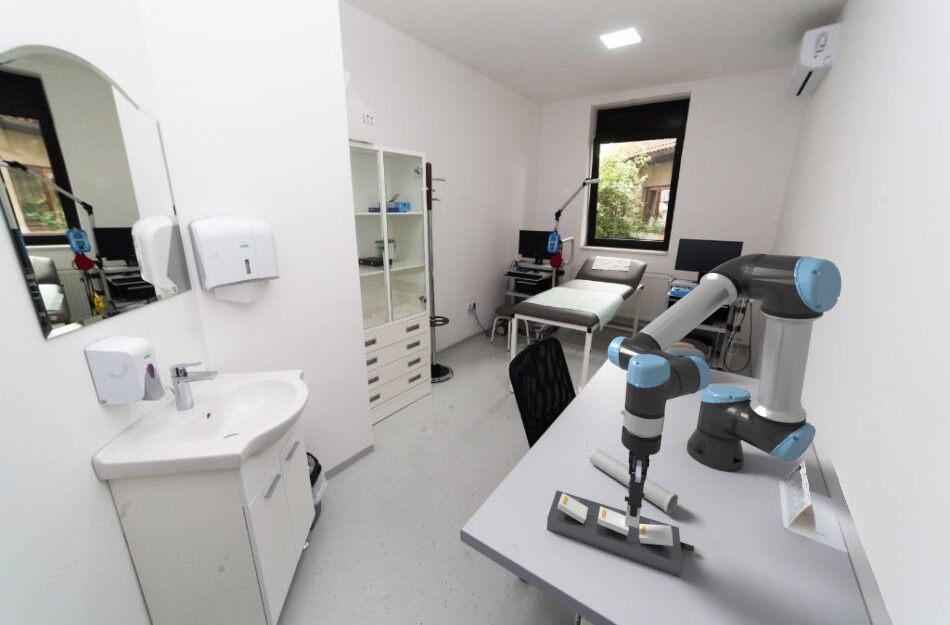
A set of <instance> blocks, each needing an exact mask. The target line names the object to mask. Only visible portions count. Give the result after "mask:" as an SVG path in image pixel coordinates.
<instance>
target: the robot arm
mask: <svg viewBox="0 0 950 625" xmlns="http://www.w3.org/2000/svg"><path fill="white" fill-rule="evenodd" d="M840 272H841V271H840V269H839V268H838V267H837V265H836V264H835V263H834V262H832V261H830V260H828V259H824V258H817V257H812V256H802V255H801V256H800V255H788V254H787V255H786V254H785V255H784V254H768V253H748V254H744V255H741V256H737V257H735V258H734V257H733V258H732V259H730V260H728V261H725V262H723V263H721V264H720V265H717V266H716V267H714V268H713V269H711V270H710V271H708V272H707V273H706V274H705V275H703V276H702V277H701V279H700V281H699V284H697V285H696V287H694V288H693V289H692V290H691V291H689V292H688V293H687V294H685V295H684V296H683V297H681V298H680V299H679V300H677V301H676V302H675V303H674V304H673V305H671V306H670V307H669V308H667V309H666V310H664V311H663V313H660V315H659V316H657V317H656V318H655V319H654V320H652V321H651V322H649V323H648V324H647V325H646V326H645V327H643V328H642V329H641V330H639V331H638V332H637V333H636V334H634V335H633V336H632V337H628V336H617V337H615V338H614V339H612V341H611V342H610V343H609V346H608V347H607V357H608V360H609V361H610V362H611V364H613V365H614V366H616V367H618V368H619V369H621V370H623V371H626V376H625V377H626V384H625V386H626V387H625V397H624V398H625V399H624V409H621V410H620V414H621V415H622V416H623V419H622V421H623V422H622V426H621V427H622V428H621V439H620V440H621V443H622V445H623V447H624V448H625V449H627V450H628V467H629V475H630V482H629V487H628V490H627V492H628V495H627V496H626V495H625V496H624V502H626V509H625V511H626V519H625V525H629V526H632V527H635V528H638V527H639V518H640V516H641V509H642V506H643V504H642V503H643V499H645V497H644V496H645V493H643V489H644V483H645V480H646V478H648V477H647V476H648V469H649V467H650V456H653V455H657V454H658V453H659V452H660V451H661V445H662V439H663V435H662V434H663V431H664V425H665V424H664V423H665V416H666V414H665V413H666V412H665V411H666V405H667V401H669V400H672V399H675V398H679V397H683V396H687V395H694V394H696V393H697V392H700V391H702V390H703V391H702V392H703V393H702V395H701V398H700V406H699V413H698V418H697V422H696V428H695V429H694V431H693V433H692V434H691V435H690V437H689V438H688V440H687V444H686V452H687V453H688V455H689V456H690V457H691V458H692V459H694V460H695V461H696V462H698V463H700V464H702V465H703V466H706V467H708V468H711V469H714V470H717V471H722V472H723V471H724V472H736V471H739V470H741V469H743V467H744V462H745V456H744V455H745V454H744V451H743V450H744V449H743V445H742V441H743V442H745V443H747V444H748V445H750V446H752V447H754V448H757V449H758V450H760V451H762V452H764V453H766V454H768V455H769V456H770V457H774V458H777V459H778V460H780V461H783V462H786V463H790V462H794V461H796V460H798V459H799V458H800V457H801V456H802V455H803V454H804V453H806V451H807V450H808V449H809V447H810V445H811V444H812V442H813V440H814V439H815V436H816V432H817V430H816V428H815V426H814V425H812V423H810V422H807V421H806V420H807V412H806V409H804V408H803V407H802V406H801V402H802V401H801V400H802V396H803V395H802V394H803V389H804V382H805V378H806V377H805V375H806V370H807V369H806V368H807V363H808V356H809V351H810V345H811V344H810V343H811V339H812V332H813V331H812V330H813V324H814V322H815V321H817V320H819V319H821V318H823V317H824V313H826V312H829V311H831V310H832V309H833V308H834V307H835V306H836V305H837V302H838V298H839V297H840V294H841V291H842V277H841V273H840ZM739 299H751V300H754V301H755V300H756V301H760V309H759V310H760V313H762V314H763V315H764V316H765V317H766V326H765V334H764V342H763V351H762V357H761V358H762V359H761V368H760V376H759V386H758V395H757V397H754V398H753V399H751V398H752V396H751V393H750V392H749V390H746V389H744V388H740V387H738V386H735V385H734V386H732V385H728V384H727V385H726V384H714V385H713V384H711V382H712V377H713V376H712V370H711V367H710V366H709V364H708V363H707V362H706V360H705V361H704V360H702V359H701V358H699V357H695V356H685V357H682V358H680V357H677V356H674V355H671V354H669V353H666V351H667V350H668V349H670V348H671V347H672V346H673V345H674V344H676V343H677V342H680V341H681V340H682V339H683V338H685V337H686V336H687V335H688V334H690V332H692V331H693V330H694V329H695V328H697V327H698V326H699V325H700V324H702V323H703V322H704V321H705V320H707V318H710V317H711V315H712V314H713V313H715V312H716V311H717V310H719V309H720V308H721V307H722V306H724V305H725V306H727V305H731V304H733V303H734V302H735V301H736V300H739ZM710 384H711V385H710Z"/></svg>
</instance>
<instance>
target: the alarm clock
mask: <svg viewBox="0 0 950 625" xmlns="http://www.w3.org/2000/svg"><path fill="white" fill-rule="evenodd" d="M695 346H696V345H693V344H691V343H689V342H688V343H687V342H682V341H678V342H677V343H676V344H674V345H673V346H672V347H671V348H670V349H668V350H667V351H666V353H669V354H671V355H674V356H677V357H680V358H682V357H685V356H695V357H699V358H701V359H702V360H704V361H705V362H706V355H705V353H704V352H703V351H701V350H699V349H697V348H696V347H695Z"/></svg>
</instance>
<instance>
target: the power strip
mask: <svg viewBox="0 0 950 625" xmlns="http://www.w3.org/2000/svg"><path fill="white" fill-rule="evenodd" d="M563 493H564V494H566V495H568V496H569V497H571V498H573V499H574V500H576V501H578V502H580V503H581V504H583V505H585V506H586V507H588V510H587V515H586V520H585V522H584V523H581V522H579V521H578V520H576V519H574V518H573V517H571V516H570V515H568V514H566V513H565V512H563V511H561V510H560V509H558V504H559V501H560V498H561V496H562V494H563ZM600 506H601V507H604V508H606V509H609V510H611V511H614V512H616V513H619V514H622V515H624V516H626V510H623V509H620V508H617V507H612V506H610V505H606V504H603V503H600V502H598V501H597V502H596V501H593V500H590V499H587V498H583V497H581V496H577V495H573V494H570V493H568V492H564V491H561V490H556V492H555V495H554V497H553V501H552V504H551V506H550V509H549V513H548V515H547V519H546V520H547V521H546V531H549V532H552V533H555V534H557V535H560V536H563V537H566V538H568V539H571V540H574V541H577V542H580V543H583V544H585V545H588V546H590V547H594V548H597V549H599V550H602V551H604V552H608V553H610V554H613V555H616V556H619V557H622V558H624V559H626V560H630V561H633V562H635V563H639V564H642V565H644V566H647V567H650V568H653V569H655V570H659V571H661V572H664V573H667V574H669V575H673V576H676V577H678V578H681V573H682V568H683V556H682V549H683V550H687V551H689V552H692V553H694V551H695V546H694V545H692V544H689V543H685V542H682V541H681V537H680V527H678V526H675V525H671V524H668V523H665V522H662V521H659V520H655V519H651V518H649V517H646V516H642V515H640V518H639V524H650V525H665V526H671V528H672V535H673V546H669V545H657V544H646V543H640V539H639V527H638V528H635V527H632V526H629V531H628V535H624V534H622V533H619V532H617V531H615V530H612V529H610V528H607V527H605V526H602V525H600V524H597V522H598V516H599V510H600Z"/></svg>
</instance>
